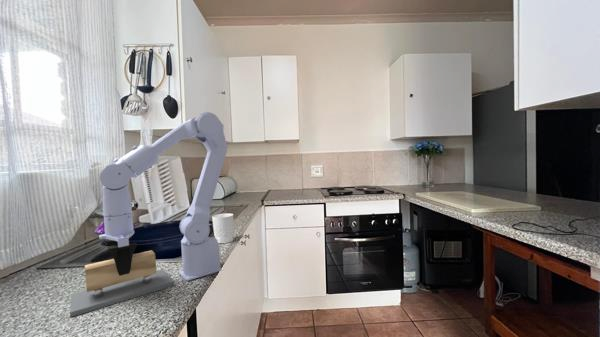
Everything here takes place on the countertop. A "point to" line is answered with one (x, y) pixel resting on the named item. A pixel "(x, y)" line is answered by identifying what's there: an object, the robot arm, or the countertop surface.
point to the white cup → (223, 227)
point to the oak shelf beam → (108, 274)
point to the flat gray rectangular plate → (118, 292)
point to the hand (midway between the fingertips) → (122, 269)
